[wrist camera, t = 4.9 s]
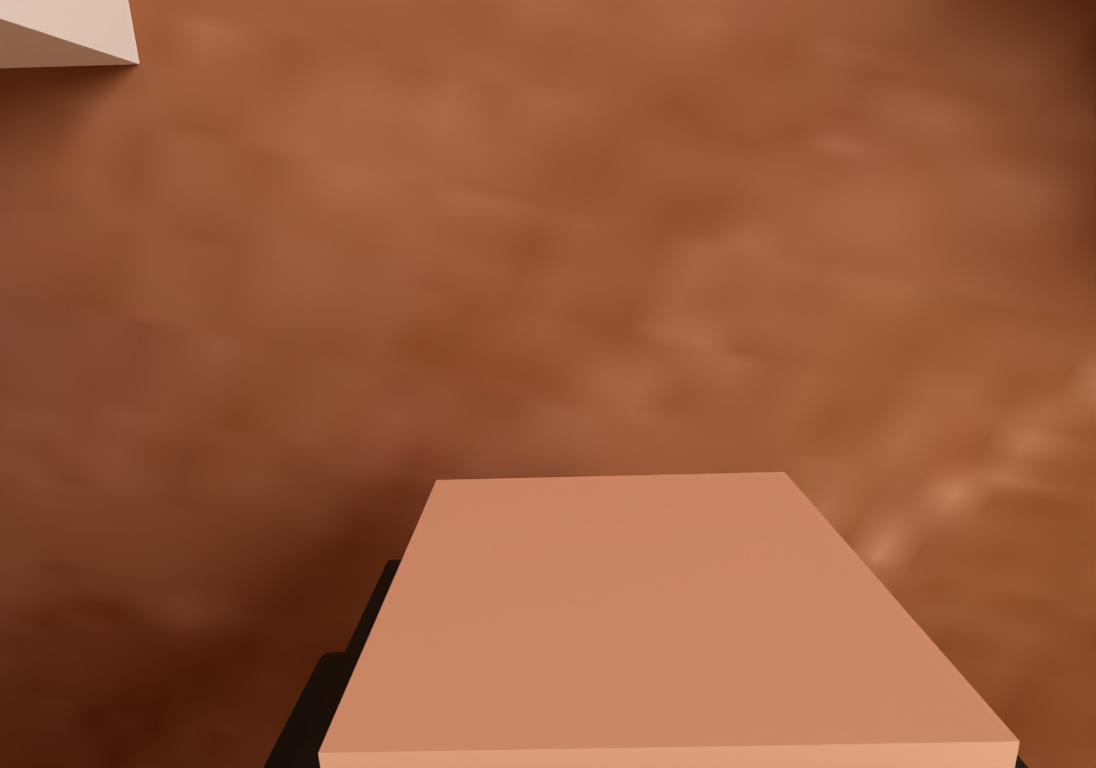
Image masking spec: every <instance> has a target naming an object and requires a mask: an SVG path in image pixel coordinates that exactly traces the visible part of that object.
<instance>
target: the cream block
mask: <svg viewBox="0 0 1096 768" xmlns="http://www.w3.org/2000/svg"><path fill="white" fill-rule="evenodd" d="M130 64H139V59H138V53H137V47H136V42H135V36H134V30H133V25H132V19H131V13H130V8H129V2H128V0H0V68H29V67H63V66H96V65H130Z"/></svg>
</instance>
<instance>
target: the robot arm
mask: <svg viewBox="0 0 1096 768" xmlns="http://www.w3.org/2000/svg"><path fill="white" fill-rule="evenodd" d="M401 561H402V560H389V561H388V562H387V564H386V566H385V568H384V570H383V572H382V575H381V577H380V579H379V581H378V583H377V585H376V587H375V589H374V592H373V594H372V596H371V598H370V600H369V602H368V604H367V607H366V609H365V611H364V613H363V615H362V617H361V619H360V621H359V624H358V626H357V628H356V630H355V632H354V634H353V636H352V639H351V641H350V643H349V645H348V647H347V649H346V651H345V652H334V653H326V654H324V655H323V656H322V657H321V659H320V660H319V662H318V663H317V665H316V667H315V669H314V671H313V673H312V675H311V677H310V679H309V681H308V683H307V685H306V687H305V688H304V690H303V692H302V694H301V696H300V698H299V700H298V702H297V704H296V706H295V708H294V710H293V712H292V714H291V716H290V717H289V719H288V721H287V723H286V725H285V727H284V729H283V731H282V733H281V735H280V737H279V739H278V741H277V743H276V744H275V746H274V748H273V750H272V752H271V754H270V756H269V758H268V760H267V762H266V764H265V766H264V768H320V762H319V755H318V752H319V750H320V748H321V746H322V743H323V741H324V739H325V736H326V734H327V732H328V729H329V727H330V725H331V722H332V720H333V718H334V715H335V713H336V711H337V709H338V706H339V704H340V702H341V699H342V697H343V695H344V692H345V690H346V688H347V685H348V683H349V681H350V679H351V676H352V674H353V672H354V669H355V667H356V665H357V662H358V660H359V658H360V655H361V653H362V651H363V649H364V646H365V644H366V642H367V639H368V637H369V635H370V632H371V630H372V628H373V625H374V623H375V621H376V618H377V616H378V614H379V612H380V609H381V607H382V605H383V602H384V600H385V598H386V595H387V593H388V591H389V588H390V586H391V584H392V582H393V579H394V577H395V575H396V572H397V570H398V568H399V565H400V563H401ZM1015 768H1028V767H1027V766H1026V765H1025V763H1024V762H1023V761H1022V760H1021V759H1020V757H1019V756H1018V755H1017V759H1016V764H1015Z"/></svg>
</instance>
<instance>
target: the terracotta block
mask: <svg viewBox="0 0 1096 768" xmlns="http://www.w3.org/2000/svg"><path fill="white" fill-rule="evenodd" d="M1019 742H1020V741H1019V740H1018V739H1017V738H1016V737H1015V735H1014V734H1013V733H1012V732H1011V731H1010V730H1009V729H1008V727H1007V726H1006V725H1005V724H1004V723H1003V722H1002V721H1001V719H1000V718H999V717H998V716H997V715H996V714H995V713H994V711H993V710H992V709H991V708H990V707H989V706H988V705H987V703H986V702H985V701H984V700H983V699H982V698H981V697H980V695H979V694H978V693H977V692H976V691H975V690H974V689H973V687H972V686H971V685H970V684H969V683H968V682H967V681H966V679H965V678H964V677H963V676H962V675H961V674H960V672H959V671H958V670H957V669H956V668H955V667H954V666H953V664H952V663H951V662H950V661H949V660H948V659H947V658H946V656H945V655H944V654H943V653H942V652H941V651H940V650H939V648H938V647H937V646H936V645H935V644H934V643H933V642H932V640H931V639H930V638H929V637H928V636H927V635H926V634H925V632H924V631H923V630H922V629H921V628H920V627H919V626H918V624H917V623H916V622H915V621H914V620H913V619H912V618H911V616H910V615H909V614H908V613H907V612H906V611H905V610H904V608H903V607H902V606H901V605H900V604H899V603H898V601H897V600H896V599H895V598H894V597H893V596H892V595H891V593H890V592H889V591H888V590H887V589H886V588H885V587H884V585H883V584H882V583H881V582H880V581H879V580H878V579H877V577H876V576H875V575H874V574H873V573H872V572H871V571H870V569H869V568H868V567H867V566H866V565H865V564H864V563H863V561H862V560H861V559H860V558H859V557H858V556H857V555H856V553H855V552H854V551H853V550H852V549H851V548H850V547H849V545H848V544H847V543H846V542H845V541H844V540H843V538H842V537H841V536H840V535H839V534H838V533H837V532H836V530H835V529H834V528H833V527H832V526H831V525H830V524H829V522H828V521H827V520H826V519H825V518H824V517H823V516H822V514H821V513H820V512H819V511H818V510H817V509H816V508H815V506H814V505H813V504H812V503H811V502H810V501H809V500H808V498H807V497H806V496H805V495H804V494H803V493H802V492H801V490H800V489H799V488H798V487H797V486H796V485H795V484H794V482H793V481H792V480H791V479H790V478H789V477H788V476H787V474H786V473H785V472H762V473H719V474H676V475H633V476H589V477H546V478H503V479H460V480H436V482H435V485H434V487H433V489H432V491H431V494H430V496H429V498H428V501H427V503H426V505H425V508H424V510H423V512H422V515H421V517H420V519H419V521H418V524H417V526H416V528H415V531H414V533H413V535H412V538H411V540H410V542H409V545H408V547H407V549H406V552H405V554H404V556H403V558H402V561H401V563H400V565H399V568H398V570H397V572H396V575H395V577H394V579H393V582H392V584H391V586H390V588H389V591H388V593H387V595H386V598H385V600H384V602H383V605H382V607H381V609H380V612H379V614H378V616H377V618H376V621H375V623H374V625H373V628H372V630H371V632H370V635H369V637H368V639H367V642H366V644H365V646H364V649H363V651H362V653H361V655H360V658H359V660H358V662H357V665H356V667H355V669H354V672H353V674H352V676H351V679H350V681H349V683H348V685H347V688H346V690H345V692H344V695H343V697H342V699H341V702H340V704H339V706H338V709H337V711H336V713H335V715H334V718H333V720H332V722H331V725H330V727H329V729H328V732H327V734H326V736H325V739H324V741H323V743H322V746H321V748H320V750H319V752H318V755H319V762H320V768H1015V764H1016V759H1017V753H1018V747H1019Z"/></svg>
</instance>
